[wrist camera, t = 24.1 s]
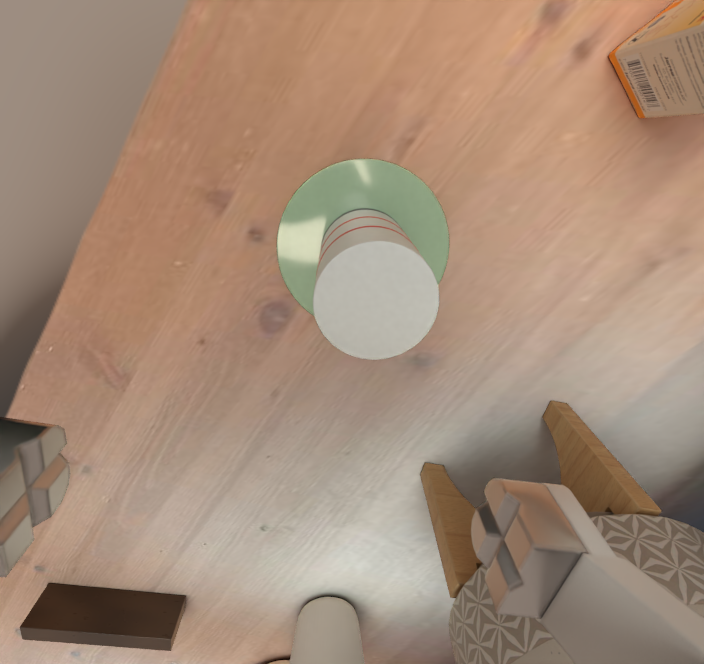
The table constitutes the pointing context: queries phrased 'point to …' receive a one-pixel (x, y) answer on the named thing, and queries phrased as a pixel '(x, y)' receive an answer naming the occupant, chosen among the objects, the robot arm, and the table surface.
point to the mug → (281, 662)
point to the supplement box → (665, 62)
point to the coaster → (348, 194)
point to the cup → (327, 634)
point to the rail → (104, 617)
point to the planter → (607, 515)
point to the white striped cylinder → (373, 287)
